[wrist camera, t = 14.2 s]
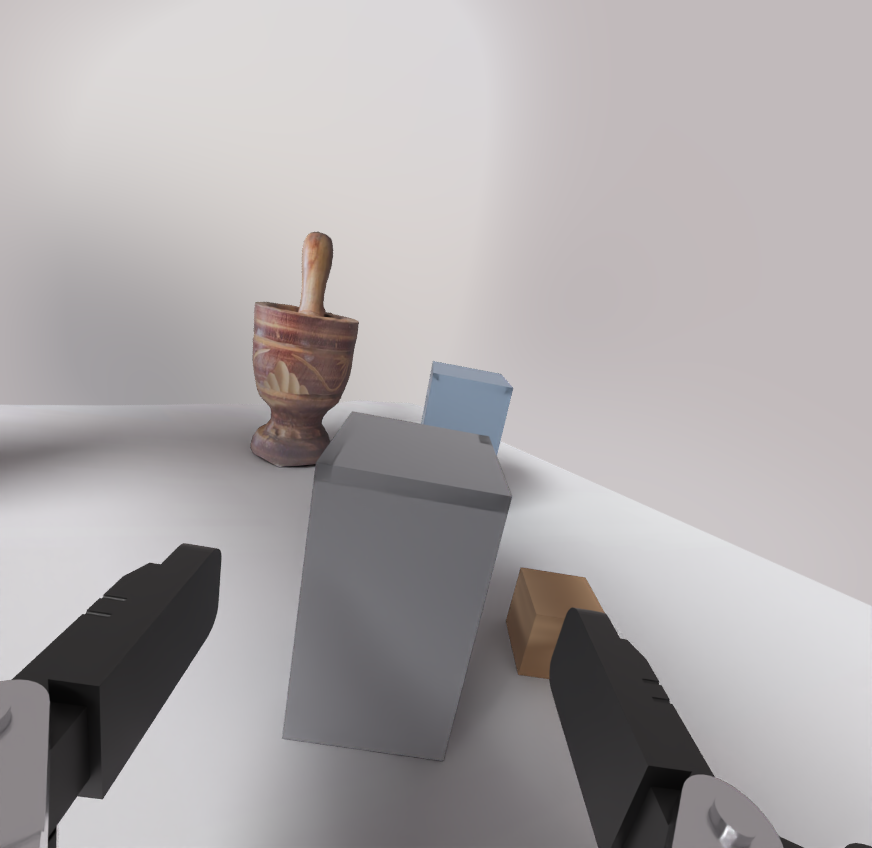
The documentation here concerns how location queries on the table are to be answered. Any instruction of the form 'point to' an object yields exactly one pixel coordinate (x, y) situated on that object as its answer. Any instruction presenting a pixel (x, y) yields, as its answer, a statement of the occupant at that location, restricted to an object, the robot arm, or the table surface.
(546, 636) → the brown cube
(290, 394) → the mortar and pestle
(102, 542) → the table surface
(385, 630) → the cover
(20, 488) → the table surface
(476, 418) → the light blue box
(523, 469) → the table surface
